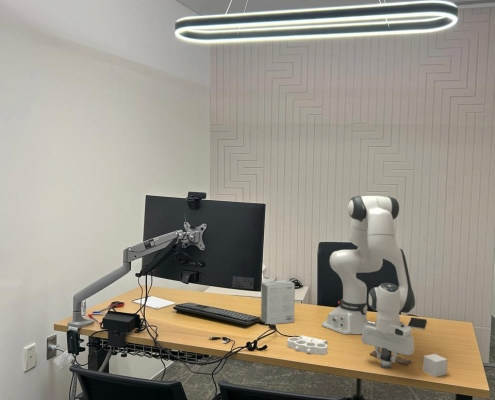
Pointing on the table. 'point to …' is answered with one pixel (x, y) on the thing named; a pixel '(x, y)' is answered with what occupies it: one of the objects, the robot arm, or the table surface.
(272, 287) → the hard drive box
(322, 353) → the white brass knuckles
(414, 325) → the smartphone
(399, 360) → the strip
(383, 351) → the bottle with black cap
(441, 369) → the white cube
